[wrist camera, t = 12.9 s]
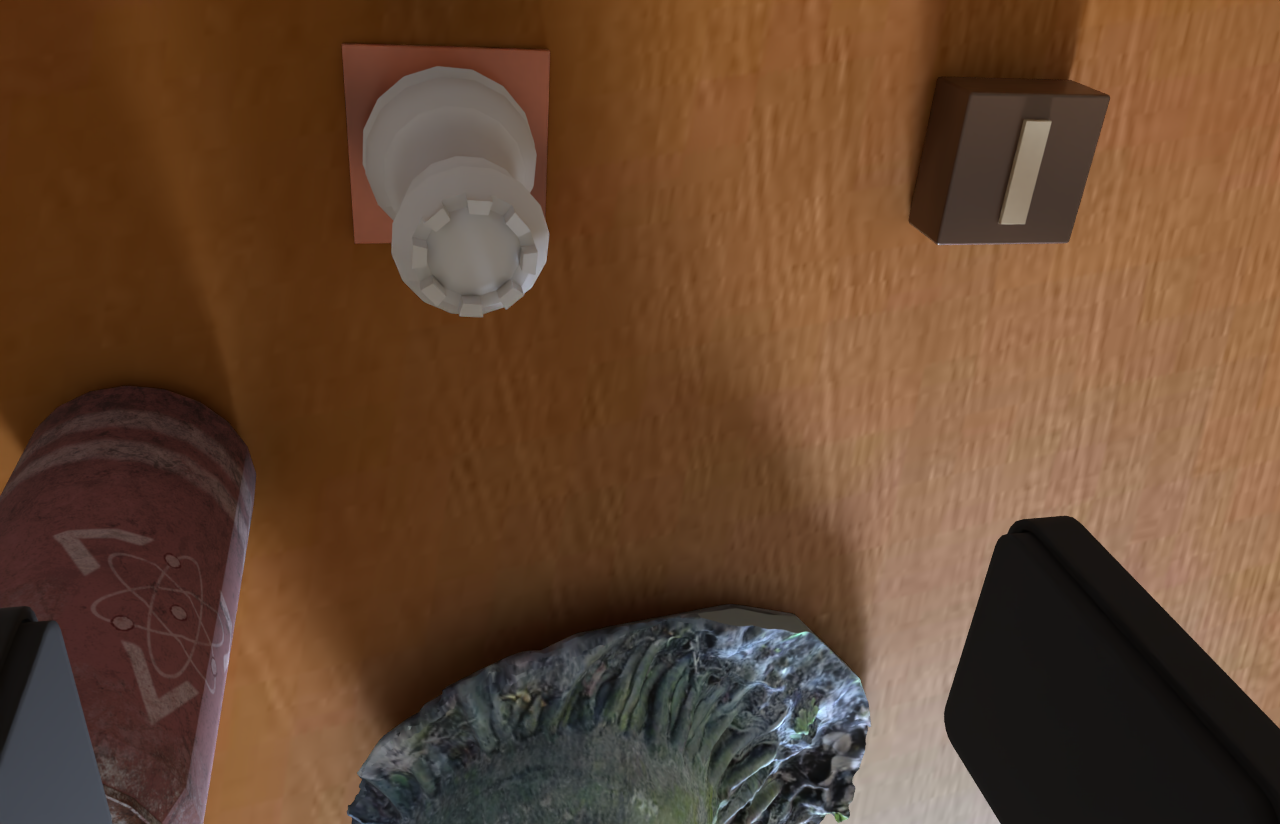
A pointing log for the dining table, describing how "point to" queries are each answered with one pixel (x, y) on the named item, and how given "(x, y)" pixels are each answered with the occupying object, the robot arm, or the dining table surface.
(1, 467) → the dining table surface
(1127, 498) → the dining table surface
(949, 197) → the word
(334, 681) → the dining table surface
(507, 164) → the rook chess piece
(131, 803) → the can
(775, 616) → the tree stump
